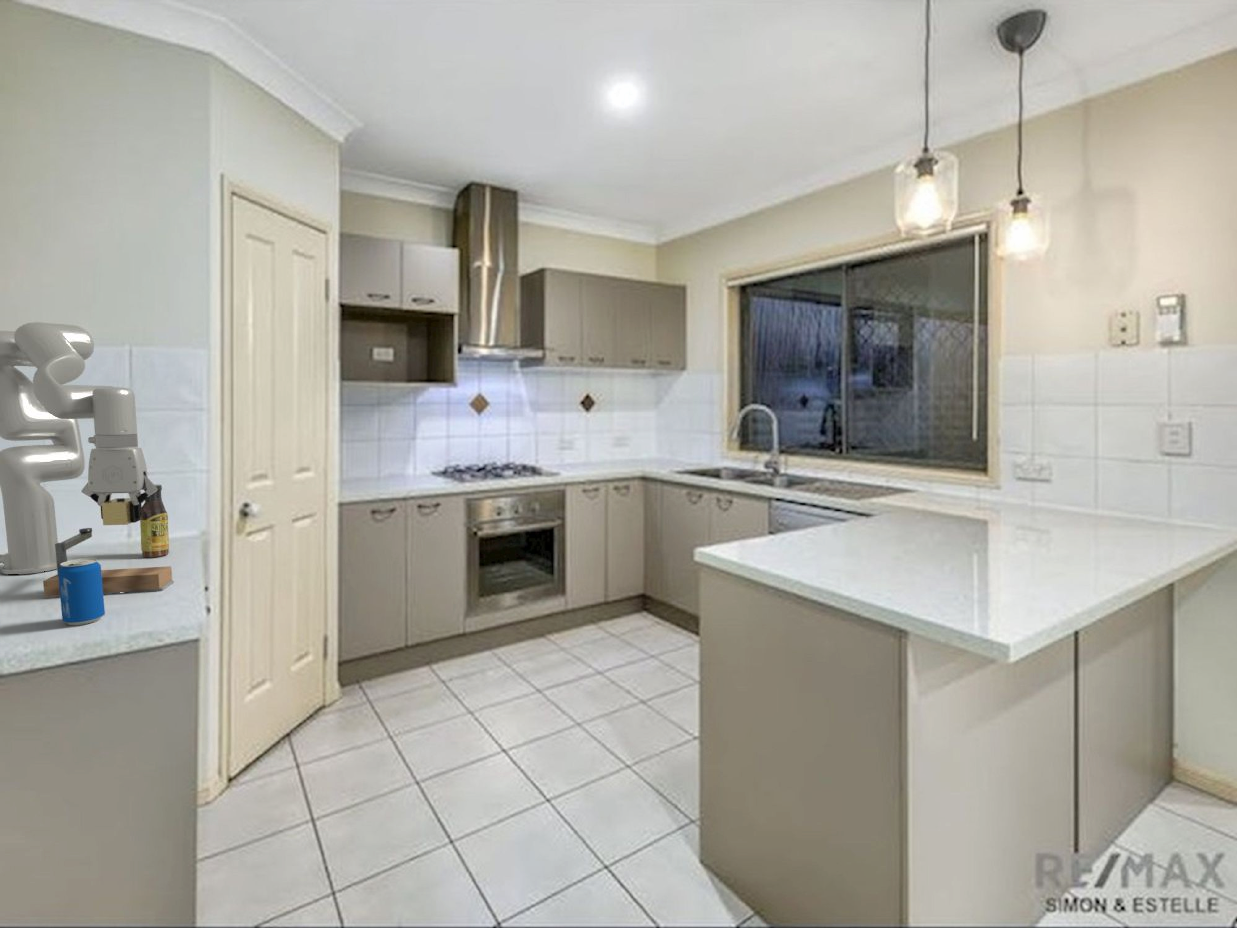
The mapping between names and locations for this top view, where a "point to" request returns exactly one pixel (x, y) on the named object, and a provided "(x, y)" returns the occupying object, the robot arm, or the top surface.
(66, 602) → the beverage can
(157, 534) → the sauce bottle
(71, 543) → the lever
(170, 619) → the top surface
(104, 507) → the tan knob block
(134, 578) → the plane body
